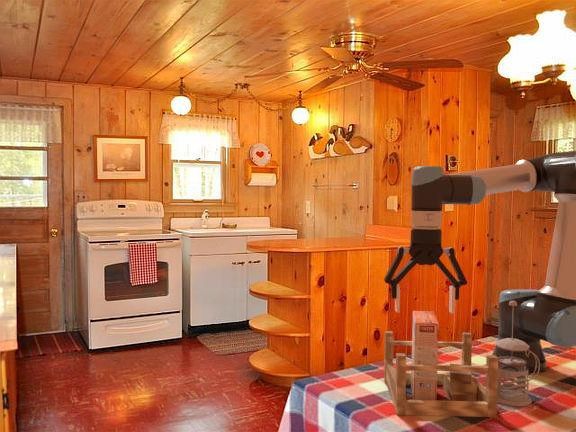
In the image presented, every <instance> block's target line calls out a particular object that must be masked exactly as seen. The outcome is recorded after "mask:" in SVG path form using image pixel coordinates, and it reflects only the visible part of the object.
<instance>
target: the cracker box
mask: <svg viewBox="0 0 576 432" xmlns="http://www.w3.org/2000/svg"><path fill="white" fill-rule="evenodd" d="M439 329H440V327H439V322H438V319H437V317H436V313H435V311H431V310H430V311H429V310H427V311H426V310H412V329H411V330H412V334H411V337H412V338H411V341H412V346H411V365H439V364H438V363H439V361H438V359H439V357H438V356H439V346H438V342H439V331H440V330H439ZM410 371H411V384H410V389H411V400H437V397H438V396H437V395H438V393H437V391H438V385H437V372H438V371H420V370H410Z"/></svg>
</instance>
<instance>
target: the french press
mask: <svg viewBox="0 0 576 432" xmlns="http://www.w3.org/2000/svg"><path fill="white" fill-rule="evenodd" d="M509 305H511V306H517V303H516V301H510V302H509ZM497 340H498V339H497ZM494 345H495V346H497V347H498V348H501V349H504V350H509V351H525V355H526V356H528V357H529V353H532V354H533V355H534V357H535V356H536V355H535V354H534V353H533V352H531V351H530V350H528V349H529V348H530V346H529V345H528V344H526V343H525V342H523V341H521V340H518V339H515V338H513V314H512V338H505V339H501V340H498V341H495V342H494ZM526 351H530V352H528V355H527V354H526ZM536 357H537V356H536ZM536 357H535V360H536ZM537 359H538V357H537ZM538 362H539V368H538V372H537V373H535V371H536V368H537V360H536V367H535V370H534V372H533V373H530V375H529V373H528V368H527V371H526V366H525V365H526V364H527V362H526V360H524V359H521V358H516V357H512V356H511V357H509V356H500V357H498V389H497V403H500V404H503V405H506V406H513V407H526V406H529V405H532V403H533V401H532V399H531V398H530V396H529V384H530V383H529V382H530V381H531V380H533V379H535V378H536V377H537V376H538V375H539V374H540V373H539V370H540V361H539V359H538ZM505 366H512V367H515V368H517V369H518V371H516V370H514V369H511V368H507V369H501V368H503V367H505ZM534 374H536V375H534ZM533 375H534V376H533ZM532 376H533V377H532ZM530 377H531V378H530Z"/></svg>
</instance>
